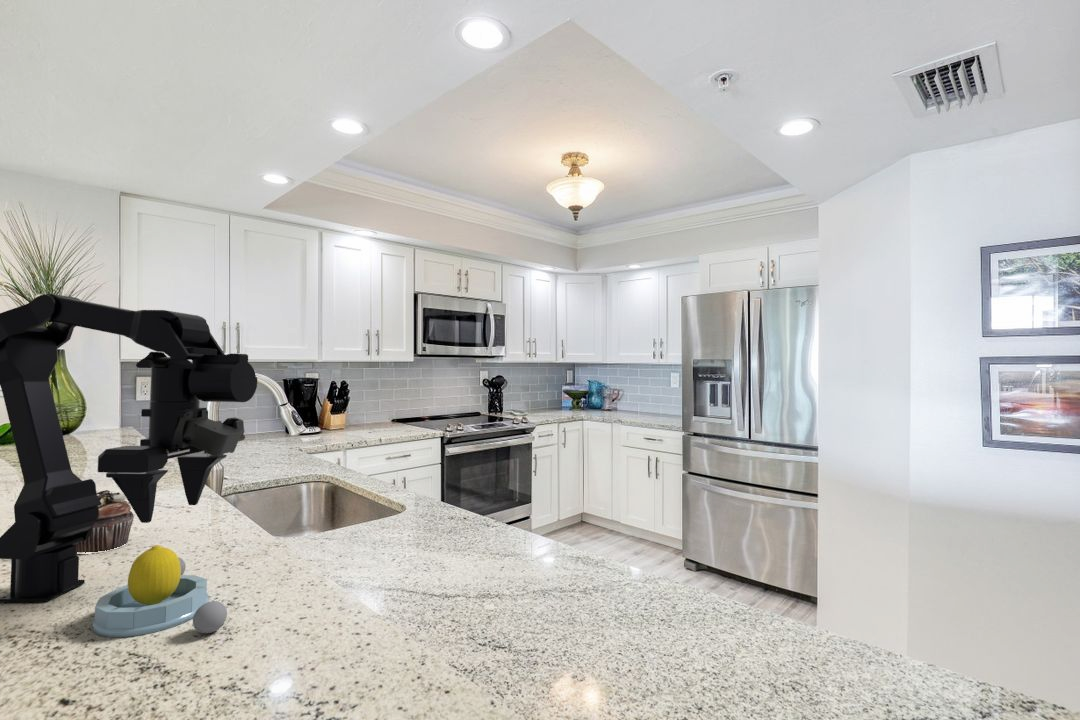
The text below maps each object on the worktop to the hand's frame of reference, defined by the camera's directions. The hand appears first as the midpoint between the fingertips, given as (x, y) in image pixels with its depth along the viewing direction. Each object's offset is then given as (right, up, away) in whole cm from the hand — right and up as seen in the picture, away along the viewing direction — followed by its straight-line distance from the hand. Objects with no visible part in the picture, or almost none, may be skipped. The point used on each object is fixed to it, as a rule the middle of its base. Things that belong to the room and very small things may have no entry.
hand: (171, 513), depth 71 cm
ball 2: (+12, -12, -9) cm, 19 cm away
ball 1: (-4, -12, +6) cm, 14 cm away
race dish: (+1, -12, -5) cm, 13 cm away
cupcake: (-28, -13, +21) cm, 37 cm away
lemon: (+1, -11, -5) cm, 12 cm away
